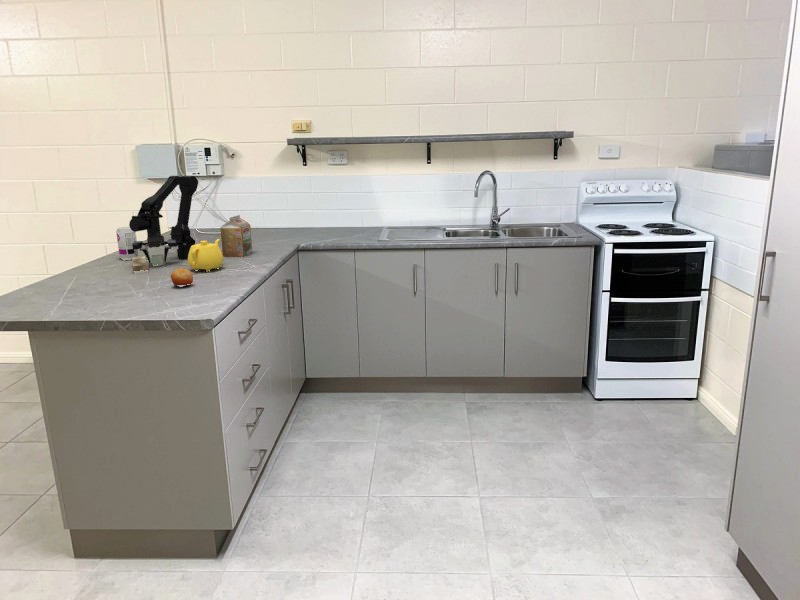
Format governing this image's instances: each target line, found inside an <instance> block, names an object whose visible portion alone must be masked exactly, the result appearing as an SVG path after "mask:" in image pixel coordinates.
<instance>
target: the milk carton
mask: <svg viewBox="0 0 800 600" xmlns="http://www.w3.org/2000/svg"><path fill="white" fill-rule="evenodd" d="M228 219H229V220H228V221H226V222H225V223H224V224H222V226H220V228H219V231H220V241H221V249H222V250H221V252H222V255H223V256H224V257H223V258H245V257H244V256H246V257H248V256H250V255H252V254H253V252H254V251H253V242H252V241H253V240H252V229H251V228H252V227H251V226H252V225H251V224H250V223H249V222H248V221H246V220H244V219H243V218H241V215H240V214H238V215H234V216H231V217H229V218H228ZM251 253H252V254H251ZM249 254H250V255H249ZM247 255H248V256H247Z"/></svg>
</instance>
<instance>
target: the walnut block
mask: <svg viewBox="0 0 800 600" xmlns="http://www.w3.org/2000/svg"><path fill="white" fill-rule="evenodd" d="M140 270H144V271H145V270H149V271H150V263H149V262H147V263H146V265H142V266H133V265H132V272H133V271H140Z"/></svg>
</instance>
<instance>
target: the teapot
mask: <svg viewBox="0 0 800 600" xmlns="http://www.w3.org/2000/svg"><path fill="white" fill-rule="evenodd" d="M220 241H221V238H217V239H216V240H215V241H214V243H211V242H209V243H208V240H200V243H195V245H192V246H191V248H190V251H189V254H188V259H187V264H188V266H189V267H190V268H191V269H193V271H194V270H199V269H200V270H204V271H205V270H206V271H209V270H211V271H212V270H213V269H214V268H220V267H222V266H223V264H224V257H223V252H222V250H221V248H220V247H219V246H220V245H219V242H220ZM200 270H199V271H200Z"/></svg>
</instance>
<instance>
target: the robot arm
mask: <svg viewBox="0 0 800 600" xmlns="http://www.w3.org/2000/svg"><path fill="white" fill-rule="evenodd" d="M177 187H178V188H179V191H180V201H179V207H178V215H177V222H176V225H174V226H171V227H170V228H171V229H170V233H169V236H170V239H169V238H168V239H167V240H166V241H165V236H164V235H162V232H161V224H160V223H161V222H160V218H161V219H162V218H164V216H163V215H162V214H161V213H160V212H161V209H162V208H163V205H164V202H165V200H166V199H167V198H168V197H169V196H170V194H171V193H173V191H174V190H175V189H176V188H177ZM198 187H199V179H198V178H197V176H195V175H182V176H179V175H170V176H168V177H167V179H166V181H165V182H164V183H163V184H162V185H161V186H160V187H159V188H158V190H157V191H156V192H155V193H154V194H153V195H151V196H149V197H147V198H145V200H143V201H142V203H141V204H140V205H141V206H140V208H139V210H138V213H137V215H131V219H130V220H129V223H128V224H129V225H128V227H130V229H131V230H132V231H134V232H135V233H136V232H142V231H146V235H147V237H146V240H147V241H146V242H143V240H136V241H134V243H133V244H132V246H133V249H138V250H139V251H140V252H142V253H143V254H144V255H145V256H146V260H147V261H148V263H149V264H152V260H151V256H150V251H149V249H151V248H160V247H161V246H164V249H163V251H164V255H163V262H164V263H166V262H167V258H168V253H169V250H171V249H172V248H177V249H176V253H177V255H176V256H177V258H178V260H179V259H181V260H188V254H189V251H190V248H191V246H192V245H196V240H195V239H194V238H193V237H192V236H191V229H190V227H189V220H190V215H191V214H190V213H191V207H192V200H193V195H194V194H195V193H196V191H197V189H198ZM148 248H149V249H148Z"/></svg>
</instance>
